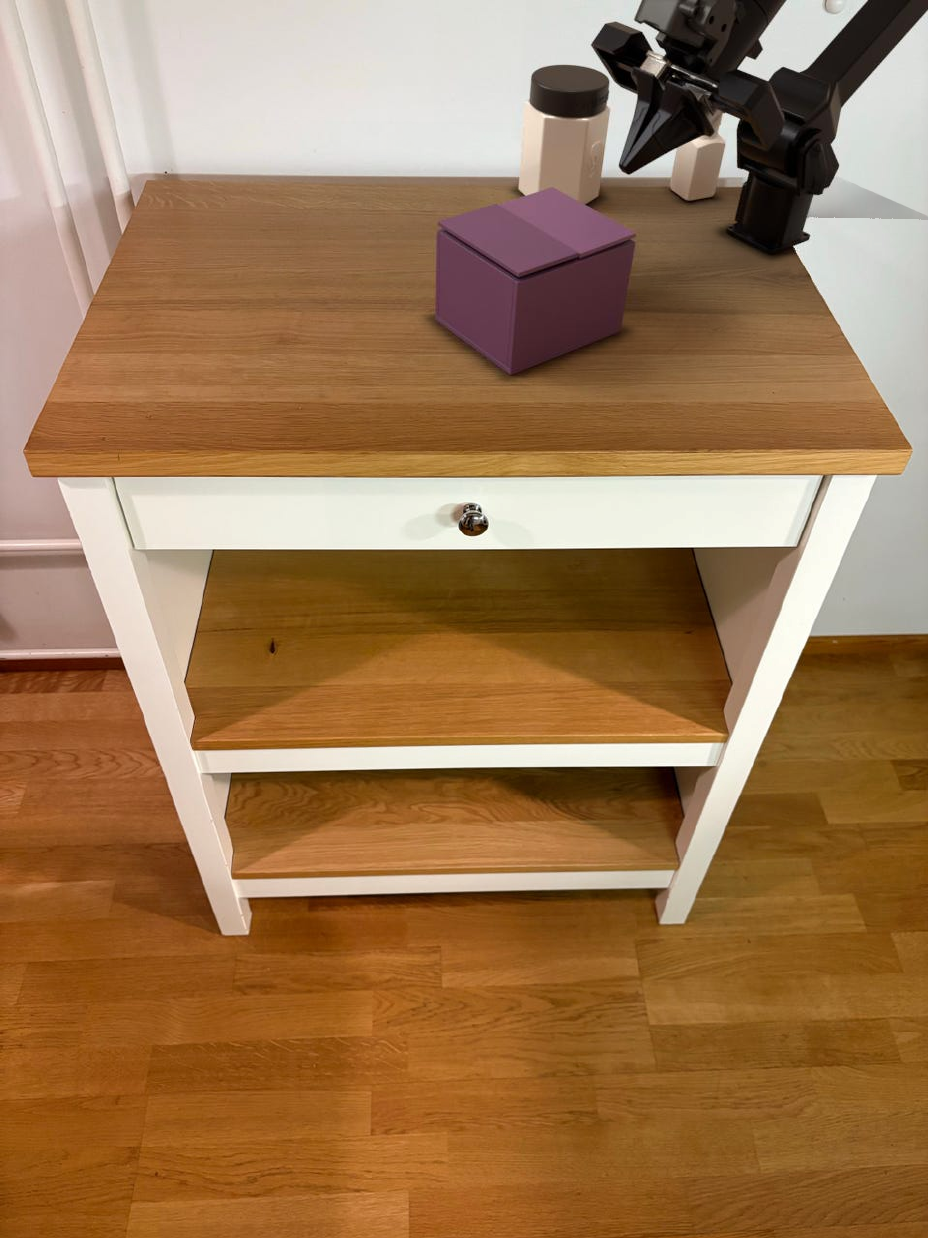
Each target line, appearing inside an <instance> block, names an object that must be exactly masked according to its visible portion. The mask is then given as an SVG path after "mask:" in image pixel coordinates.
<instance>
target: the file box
mask: <svg viewBox="0 0 928 1238" xmlns="http://www.w3.org/2000/svg"><path fill="white" fill-rule="evenodd" d="M437 226H438V227H440V228H439V229H437V230H436V249H435V251H436V255H435V257H436V258H435V259H436V260H435V265H436V266H435V309H434V310H435V311H434V312H435V316H434V320H435V322H437V323H439V325H441V326H443V327H444V328H445V329H446V330H448V331H449V332H451V334H453V335H454V336H456V337H457V338H459V339H460V340H461V341H463V342H464V343H466V344H467V345H468V346H469V347H471V348H472V349H474V351H476V352H478V353H479V354H480V355H482V356H483V357H485V358H486V359H487V360H488V361H490V362H492V363H493V364H494V365H496V366H497V367H498V368H500V369H501V370H502V371H503V372H505V373H506V374H507V375H509V376H513V375H515V374H517V373H520V372H523V371H525V370H527V369H530V368H533V367H536V366H538V365H540V364H542V363H546V362H548V361H550V360H553V359H555V358H558V357H560V356H563V355H566V354H567V353H571V352H574V351H575V350H578V349H580V348H583V347H585V346H589V345H590V344H593V343H595V342H598V341H601V340H603V339H605V338H608V337H610V336H613V335H616V334H618V333H621V331H622V325H623V319H624V313H625V309H626V308H625V307H626V301H627V296H628V289H629V284H630V279H631V271H632V265H633V259H634V254H635V249H636V248H635V247H636V241H634V240H632V239H630V240H627V241H624V242H622V243H619V244H616V245H614V246H611V247H608V248H606V249H603V250H600V251H598V252H595V253H592V254H590V255H587V256H584V257H582V258H579V257H578V255H579V252H577V251H575V250H574V249H572V248H570V247H569V246H567V245H565V244H564V243H562V242H560V241H559V240H557V239H555V238H553V237H552V236H550V235H548V234H547V233H545V232H543V231H542V230H540V229H538V228H537V227H535V226H533V225H532V224H530V223H528V222H526V221H525V220H523V219H521V218H520V217H518V216H516V215H515V214H513V213H511V212H510V211H508V210H506V209H505V208H503V207H501V206H500V205H499V204H498V203H493V204H490V205H487V206H484V207H480V208H477V209H474V210H470V211H466V212H464V213H459V214H456V215H454V216H450V217H446V218H443V219H439V220H437Z"/></svg>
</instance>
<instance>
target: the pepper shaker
mask: <svg viewBox="0 0 928 1238" xmlns="http://www.w3.org/2000/svg"><path fill="white" fill-rule="evenodd" d="M723 115H724V113H721V115H720V116H719V117H718V119H717V120H716V122H715V123H714V124H713V126H712V127H713V129H714V131H715V132H714V134H713V135H712V136H711V137H708V136H705V135H704V136H701V137H699V138H697V139H695V140H692V141H690V142H688V143H686V144H684V145H682V146H680V147H678V148H676V149H675V154H674V160H673V165H672V171H671V176H670V181H669V188H670V190H671V191H672V192H674V193H675V194H677V195H678V196H679V197H681V198H682V199H683V200H684V201H695V200H700V199H706V198H711V197H713V196H714V195H715V193H716V191H717V190H716V189H717V185H718V181H719V177H720V172H721V167H722V163H723V159H724V154H725V149H726V144H727V143H726V140H725V139H724V138H723V136H722V135H720V134H719V130H720V126H721V125H722V120H723Z"/></svg>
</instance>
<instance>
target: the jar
mask: <svg viewBox="0 0 928 1238" xmlns="http://www.w3.org/2000/svg"><path fill="white" fill-rule="evenodd" d="M609 95H610V79H609V77H608V76H607V75H606V74H605V73H604V72H602V71H599V70H598V69H595V68H592V67H589V66H583V65H576V64H575V65H574V64H552V65H547V66H543V67H540V68H537V69H536V70H534V71H533V72H532V74H531V76H530V90H529V99H527V100H526V101H525V102H524V112H523V125H522V135H521V137H522V139H521V151H520V163H519V177H518V191H519V192H520V193H521V194H522V195H523V196H527V195H530V194H533V193H536V192H539V191H542V190H545V189H548V188H551V187H554V188H555V189H557V190H559V191H561V192H563V193H564V194H566V195H568V196H570V197H572V198H574V199H575V200H577V201H579V202H581V203H583V204H584V205H587V204H589V203H590V202H592V201H593V200H595V199H597V198H598V197H599V195H600V188H601V181H602V174H603V167H604V159H605V152H606V144H607V138H608V131H609V122H610V115H611V108H610V107H609V106H608V101H609V97H610V96H609Z"/></svg>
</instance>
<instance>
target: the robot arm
mask: <svg viewBox="0 0 928 1238" xmlns="http://www.w3.org/2000/svg"><path fill="white" fill-rule="evenodd" d="M786 2H787V0H641V1H640V3H639V6H638V8H637V11H636V13H635V15H634V18H633V21H634V22H636V23H637V24H639V25H642V24H645V25H647V26H648V27H650V28H652V29H654V30H655V31H657V32H658V33H657V34H656V36H655V38H654V39H655V41H656V43H657V45H658V46H659V48H660V49H663V50H664V52H665V54H664V55H662V54H660V53H657V52H655V51H654V50H653V48H652V46H651V45H650V43H649V41H648V38H647V37H646V36H645V34H644V32H643V31H641V30H639V29H636V28H633V27H631V26H629V25H627V24H624V23H621V22H619V21H611V22H607V23H604V25H603V26H602V27H601V29H600V30H599V32H598V33H597V35H596V36H595V37H594V39H593V40H592V42H591V44H590V46H591V48H592V49H593V51H594V53H595V54H596V56H597V57H598V59H599V60H600V62H601V63H602V65H603V67H604V68H605V70H606V71H607V73H608V75H610V78H611V79H612V80H613V82H614V83H615V84H616V85H618V86H619V87H620V88H622V89H625V90H626V91H628V92H630V93H633V94H635V95H636V96H637V97H636V98H637V99H636V104H635V108H634V112H633V117H632V120H631V124H630V127H629V131H628V133H627V136H626V139H625V143H624V146H623V149H622V151H621V152H622V153H621V155H620V159H619V162H618V168H619V170H620V171H621V172H622V173H623V174H625V175H628V176H629V175H632V174H634V173H635V172H637V171H639V170H640V169H643V168H645V167H646V166H647V165H649V164H651V163H653V162H654V161H656V160H657V159H660V158H661V157H663V156H665V155H666V154H669V153H670V152H672V151H675V150H676V149H677V148H678V147H680V146H682V145H684V144H686V143H688V142H690V141H692V140H695V139H697V138H699V137H701V136H704V135H705V136H708V137H711V136H712V135H713V134H714V132H715V131H714V129H713V127H712V126H713V124H714V123H715V122H716V120H717V119H718V117H719V116H720V115H721V113H723V115H724V114H728V115H730V116H732V117H734V118H737V119H739V120H738V123H737V126H736V168H738V169H740V170H744V171H746V172H748V174H747V179H746V181H743V183H742V185H741V186H742V187H741V190H740V195H739V199H738V203H737V206H736V211H735V216H734V221H735V223H732V224H729V225H727V226H726V227H725V233H727V234H729V235H730V236H733V237H735V238H737V239H739V240H741V241H742V242H745V243H747V244H749V245H750V246H752V247H754V248H755V249H758V250H760V251H762V252H764V253H766V254H768V255H775V254H777V253H780V252H782V251H784V250H787V249H791V248H793V247H795V246H798V245H801V244H802V243H805V242H807V241H809V240H810V238H811V234H810V233H808V232H805V231H804V229H805V225H806V223H807V220H808V215H809V212H810V209H811V205H812V201H813V198H814V196H821V195H823V193H824V190H825V189H828V188H829V187H831V185H832V183H833V181H834V180H835V177H836V175H837V173H838V171H839V168H840V163H839V160H838V158H837V155H836V154H835V151H834V148H833V146H832V143H834V141H835V139H836V137H837V133H838V128H839V123H840V122H839V121H840V117H841V112H842V108H843V107H844V106H845V105H846V104H847V102H848V101H849V100H850V99H851V97H852V96H853V95H854V94H855V93H856V92H857V91H858V90H859V88H861V86H862V85H863V84H864V83H865V82H866V81H867V80H868V78H869V77H870V76H871V75H872V74H873V73H874V71H876V70H877V68H878V67H879V66H880V65H881V64H882V62H883V61H885V59H886V58H888V56H889V55H890V54H891V53H892V52H893V50H894V49H895V48H896V47H897V46H898V45H899V43H900V42H901V41H902V40H903V39H904V38H905V37H906V36H907V34H909V32H910V31H911V30H912V29H913V28H914V27H915V25H916V24H917V23H918V22H919V21H920V20H921V18H923V16H924V15H925V14H926V13H927V12H928V0H866V1H865V2H864V3H863V5H862V6H861V7H860V8H859V9H858V10H857V12H856V13H854V15H853V16H852V17H851V18H850V20H849V21H848V22H847V23H845V26H844V27H843V28H842V29H841V30H839V32H838V33H837V35H836V36H835V37H834V38H833V39H832V40H831V41H830V42H829V43H828V45H827V46H826V47H825V48H824V49H823V51H821V53H819V54H818V56H817V57H816V58H815V59H814V60H813V62H812V63H811V64H810V65H809V66H808V67H807V68H806V69H804V70H801V71H796V70H794V69H791V68H789V67H785V66H782V67H780V68H778V69H777V70H775V71H774V72H773V74H771V76H770V78H769V79H768V80H766V79H764V78H761V77H759V76H757V75H753V74H752V73H749V72H746V71H743V70H741V69H739V67H740V66H741V64H742V63H743V62H744V60H746V58H749V59H752V60H754V61H756V60H757V58H759V56H760V55H761V53H762V52H763V51H764V48H763V46H762V42H761V40H760V38H761V37H762V35H763V34H764V33H765V32H766V30H767V28H768V27H769V26H770V24H771V23H772V22H773V20H774V18H775V17H776V16H777V14H778V13H779V11H781V9H782V8H783V6H784V4H785V3H786Z"/></svg>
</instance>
